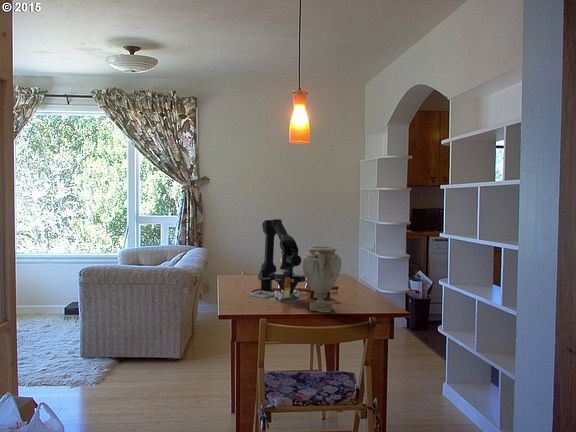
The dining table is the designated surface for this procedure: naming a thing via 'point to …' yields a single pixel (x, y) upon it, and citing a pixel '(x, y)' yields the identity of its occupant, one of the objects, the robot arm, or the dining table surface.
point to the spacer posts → (280, 295)
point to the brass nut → (286, 293)
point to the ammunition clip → (313, 296)
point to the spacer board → (288, 300)
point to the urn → (321, 274)
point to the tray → (262, 295)
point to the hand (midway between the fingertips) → (286, 293)
